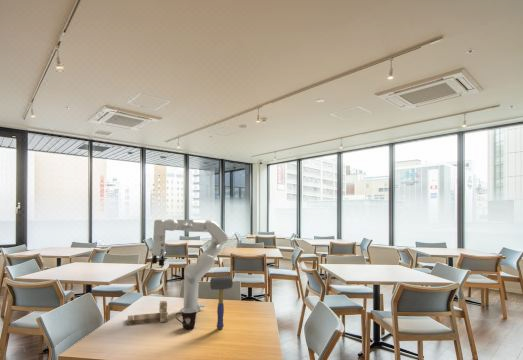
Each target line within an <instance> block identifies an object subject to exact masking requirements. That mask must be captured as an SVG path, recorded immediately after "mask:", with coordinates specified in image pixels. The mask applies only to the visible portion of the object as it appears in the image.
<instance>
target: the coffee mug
mask: <svg viewBox="0 0 523 360" xmlns="http://www.w3.org/2000/svg"><path fill="white" fill-rule="evenodd" d="M197 313H198V312H197V310H196V309H191V308H190V309H184V310H182V312H176V314H175V319H176V320H177V321H178V322H180V323H181V324H182V329H183V330H184V331H193V330H194V329H195V325H196V319H197ZM178 314H180V315H181V317H182V321H181V320H180V319H179V318H178V317H177V315H178Z"/></svg>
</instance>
